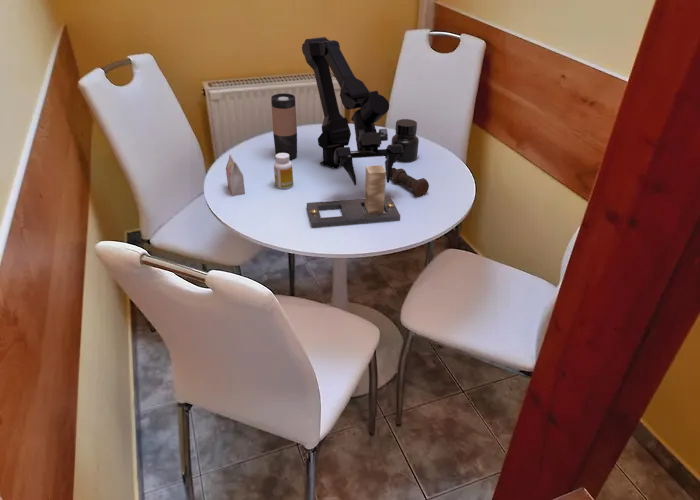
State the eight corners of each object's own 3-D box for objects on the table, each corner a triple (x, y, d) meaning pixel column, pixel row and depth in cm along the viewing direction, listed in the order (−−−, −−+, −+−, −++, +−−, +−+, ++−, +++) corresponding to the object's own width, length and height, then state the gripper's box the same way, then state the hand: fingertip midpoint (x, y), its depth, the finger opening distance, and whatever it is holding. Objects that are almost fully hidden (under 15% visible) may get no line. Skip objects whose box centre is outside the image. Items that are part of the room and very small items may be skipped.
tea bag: (240, 184, 161) (236, 153, 155) (245, 194, 156) (241, 162, 150) (227, 186, 160) (224, 155, 154) (232, 196, 155) (228, 164, 149)
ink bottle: (391, 150, 183) (393, 116, 176) (416, 152, 182) (419, 118, 176) (390, 162, 175) (392, 127, 168) (417, 164, 174) (420, 128, 168)
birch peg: (367, 216, 146) (369, 173, 138) (364, 208, 149) (365, 166, 142) (383, 215, 146) (385, 172, 139) (379, 207, 150) (381, 165, 143)
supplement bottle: (296, 183, 162) (295, 153, 156) (287, 191, 158) (285, 160, 152) (281, 179, 163) (279, 150, 158) (271, 187, 159) (269, 157, 154)
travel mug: (302, 155, 179) (300, 96, 168) (288, 163, 173) (285, 102, 162) (284, 150, 182) (281, 91, 171) (270, 157, 177) (265, 98, 166)
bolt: (391, 182, 168) (423, 200, 157) (380, 178, 164) (412, 196, 154) (399, 164, 166) (432, 181, 156) (388, 160, 163) (421, 177, 152)
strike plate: (311, 228, 141) (311, 221, 139) (306, 207, 149) (306, 200, 148) (400, 220, 144) (400, 213, 143) (390, 201, 153) (390, 194, 152)
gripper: (335, 119, 140) (342, 176, 137) (404, 116, 143) (412, 171, 140) (330, 136, 150) (337, 189, 148) (395, 132, 153) (402, 184, 151)
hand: (372, 183), depth 146 cm, fingers open, 9 cm apart
